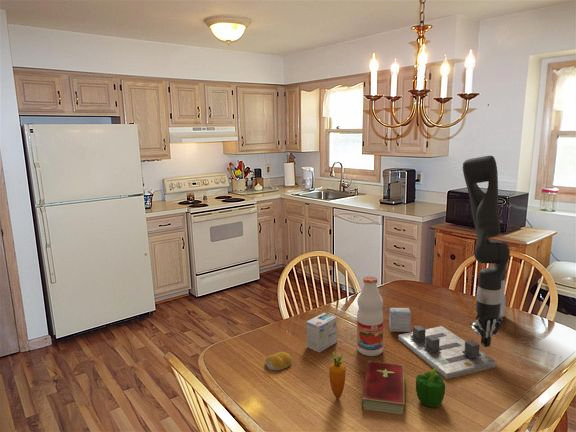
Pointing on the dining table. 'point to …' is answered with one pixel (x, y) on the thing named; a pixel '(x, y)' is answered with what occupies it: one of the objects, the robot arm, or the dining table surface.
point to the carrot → (337, 376)
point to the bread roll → (278, 361)
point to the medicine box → (399, 319)
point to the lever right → (418, 333)
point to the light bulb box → (321, 332)
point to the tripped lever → (471, 349)
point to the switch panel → (447, 354)
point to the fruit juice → (370, 319)
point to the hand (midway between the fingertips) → (485, 345)
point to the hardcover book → (384, 387)
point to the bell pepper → (430, 388)
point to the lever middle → (432, 343)
